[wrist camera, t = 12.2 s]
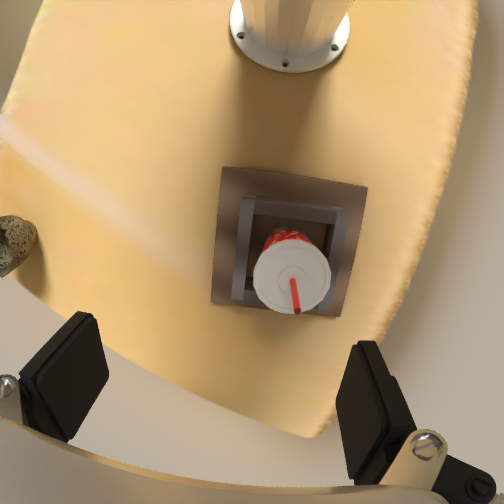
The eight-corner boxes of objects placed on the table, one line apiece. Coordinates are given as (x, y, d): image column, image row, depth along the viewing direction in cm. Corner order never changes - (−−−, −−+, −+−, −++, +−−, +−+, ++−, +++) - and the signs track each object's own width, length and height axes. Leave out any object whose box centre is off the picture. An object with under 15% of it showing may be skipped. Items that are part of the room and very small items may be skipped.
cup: (26, 263, 36) (-9, 284, 29) (8, 218, 34) (-30, 232, 27) (55, 247, 35) (18, 268, 28) (36, 197, 33) (-5, 210, 26)
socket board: (223, 166, 31) (216, 168, 27) (365, 186, 31) (379, 192, 27) (212, 298, 36) (205, 317, 32) (338, 312, 36) (346, 332, 31)
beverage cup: (264, 211, 31) (260, 254, 18) (322, 224, 31) (358, 276, 18) (251, 266, 33) (239, 340, 20) (307, 278, 33) (327, 356, 20)
